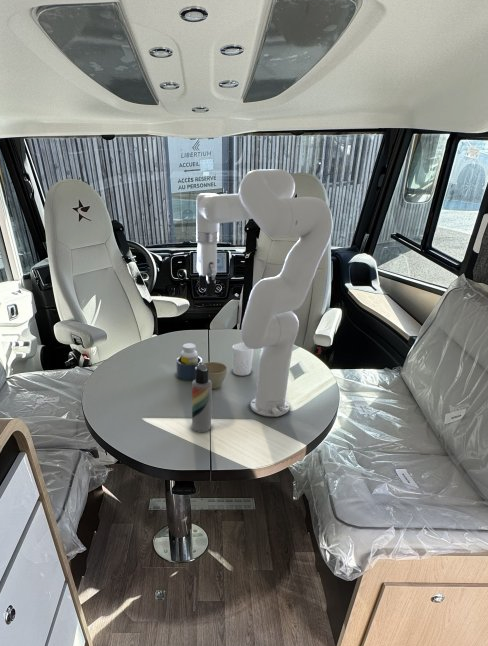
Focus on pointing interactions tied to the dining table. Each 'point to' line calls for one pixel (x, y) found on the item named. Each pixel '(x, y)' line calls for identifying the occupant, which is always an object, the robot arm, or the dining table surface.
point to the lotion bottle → (201, 399)
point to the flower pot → (216, 373)
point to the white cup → (242, 359)
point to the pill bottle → (189, 354)
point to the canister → (186, 370)
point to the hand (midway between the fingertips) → (207, 291)
